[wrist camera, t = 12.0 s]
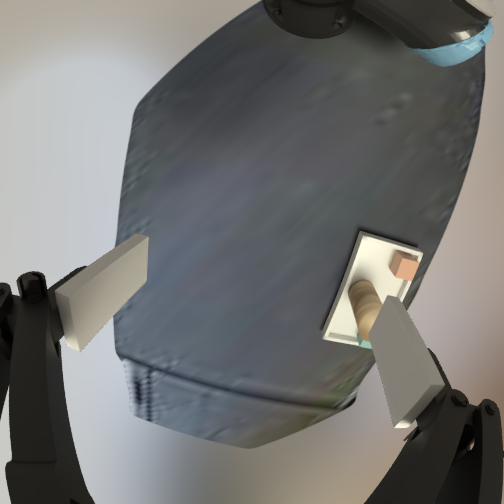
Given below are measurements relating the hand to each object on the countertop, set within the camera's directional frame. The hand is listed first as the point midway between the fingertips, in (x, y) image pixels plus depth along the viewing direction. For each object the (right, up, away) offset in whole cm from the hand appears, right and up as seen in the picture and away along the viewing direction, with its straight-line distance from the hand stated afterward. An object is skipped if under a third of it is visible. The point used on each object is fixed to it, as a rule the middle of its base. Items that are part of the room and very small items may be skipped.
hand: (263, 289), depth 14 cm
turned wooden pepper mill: (+19, -5, +33) cm, 38 cm away
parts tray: (+21, -5, +33) cm, 40 cm away
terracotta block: (+25, 0, +29) cm, 39 cm away
